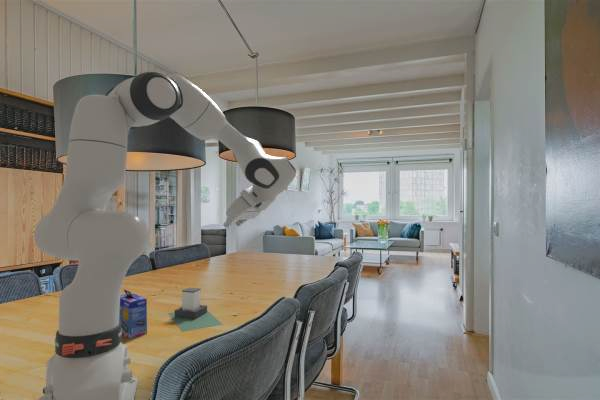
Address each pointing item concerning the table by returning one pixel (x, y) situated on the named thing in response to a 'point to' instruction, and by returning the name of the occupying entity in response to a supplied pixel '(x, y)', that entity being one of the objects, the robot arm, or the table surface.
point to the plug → (191, 299)
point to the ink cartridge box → (133, 315)
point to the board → (196, 323)
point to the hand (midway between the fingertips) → (231, 225)
